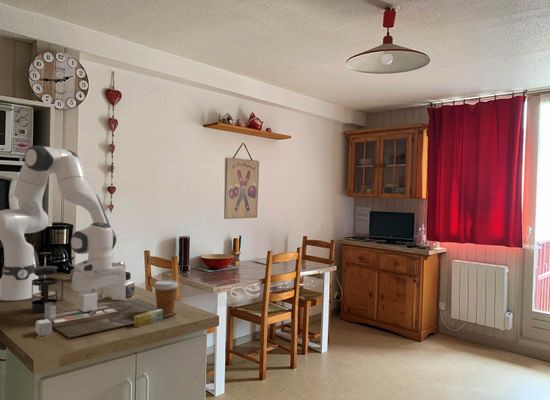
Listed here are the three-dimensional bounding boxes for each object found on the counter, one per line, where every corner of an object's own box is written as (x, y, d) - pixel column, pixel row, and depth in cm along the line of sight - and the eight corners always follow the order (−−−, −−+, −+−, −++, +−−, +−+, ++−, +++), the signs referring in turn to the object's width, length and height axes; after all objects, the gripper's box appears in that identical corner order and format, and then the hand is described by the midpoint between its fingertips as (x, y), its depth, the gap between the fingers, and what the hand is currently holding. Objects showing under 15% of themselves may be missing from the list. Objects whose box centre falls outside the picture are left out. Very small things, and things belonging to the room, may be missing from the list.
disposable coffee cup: (164, 316, 161) (165, 285, 160) (148, 312, 166) (148, 282, 165) (182, 311, 169) (183, 281, 168) (165, 307, 174) (166, 278, 174)
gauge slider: (77, 308, 160) (78, 292, 160) (90, 306, 163) (91, 291, 163) (88, 315, 152) (88, 298, 152) (101, 312, 156) (102, 296, 156)
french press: (29, 314, 158) (30, 254, 158) (27, 308, 166) (29, 251, 165) (63, 310, 164) (64, 253, 164) (60, 305, 172) (61, 250, 172)
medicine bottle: (125, 301, 181) (126, 273, 181) (111, 299, 183) (111, 272, 183) (134, 297, 188) (135, 271, 188) (120, 296, 190) (120, 270, 190)
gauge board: (42, 319, 153) (43, 314, 153) (104, 308, 169) (104, 303, 169) (54, 327, 144) (54, 322, 144) (118, 315, 160) (118, 310, 160)
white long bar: (44, 316, 152) (44, 302, 152) (102, 306, 166) (102, 294, 166) (49, 320, 147) (50, 306, 147) (108, 309, 162) (108, 297, 162)
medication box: (158, 318, 159) (158, 308, 159) (163, 319, 157) (163, 309, 157) (133, 326, 149) (133, 315, 149) (138, 327, 147) (138, 316, 147)
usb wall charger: (48, 330, 141) (48, 318, 141) (53, 336, 136) (53, 323, 136) (35, 332, 139) (35, 320, 139) (39, 338, 134) (40, 326, 134)
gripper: (122, 260, 172) (121, 293, 172) (70, 265, 158) (69, 301, 158) (129, 262, 168) (128, 296, 168) (76, 267, 153) (75, 304, 153)
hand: (99, 298), depth 163 cm, fingers closed
